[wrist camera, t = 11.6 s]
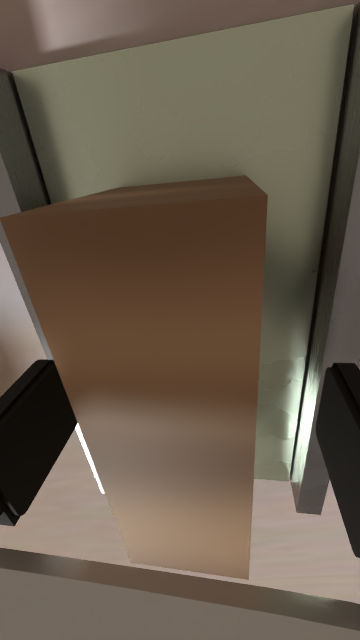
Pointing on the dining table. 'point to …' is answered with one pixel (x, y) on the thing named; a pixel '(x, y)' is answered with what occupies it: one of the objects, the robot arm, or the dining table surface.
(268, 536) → the dining table surface
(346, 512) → the robot arm
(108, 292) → the walnut block
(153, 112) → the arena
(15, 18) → the dining table surface
